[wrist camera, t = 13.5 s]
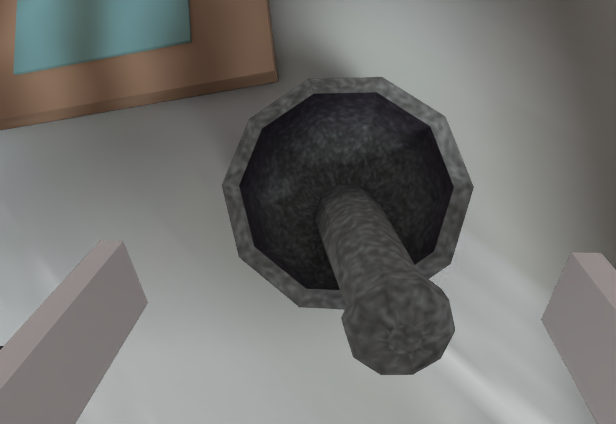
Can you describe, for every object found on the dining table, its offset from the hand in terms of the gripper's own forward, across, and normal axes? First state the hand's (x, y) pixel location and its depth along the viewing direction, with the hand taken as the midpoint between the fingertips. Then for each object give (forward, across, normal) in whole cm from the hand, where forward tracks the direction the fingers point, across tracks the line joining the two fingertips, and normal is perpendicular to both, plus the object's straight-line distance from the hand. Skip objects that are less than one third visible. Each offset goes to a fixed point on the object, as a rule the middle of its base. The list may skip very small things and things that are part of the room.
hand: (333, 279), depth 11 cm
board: (+20, +16, -7) cm, 27 cm away
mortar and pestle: (+9, 0, +5) cm, 10 cm away
